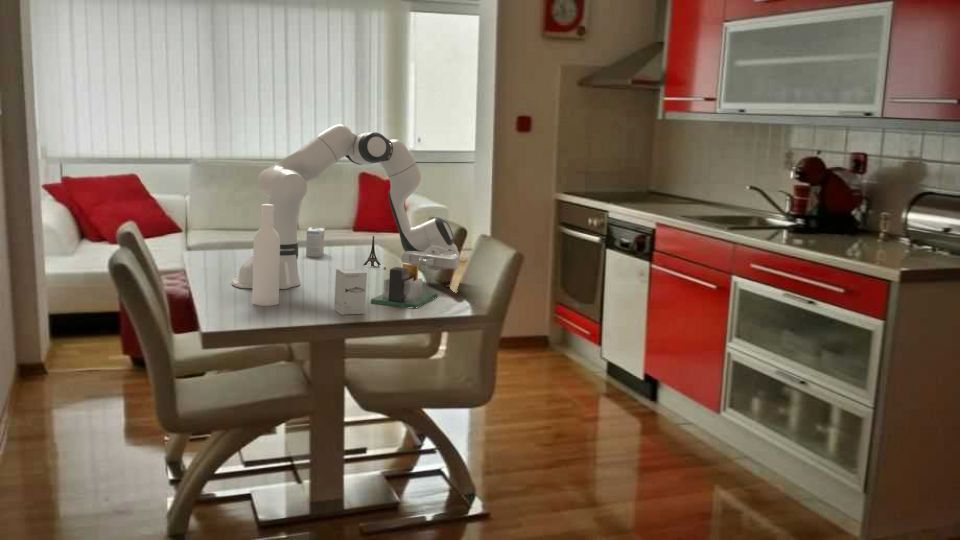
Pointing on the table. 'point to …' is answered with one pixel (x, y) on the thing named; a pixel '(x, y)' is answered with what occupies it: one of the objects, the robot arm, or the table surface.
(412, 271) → the yellow rectangular block
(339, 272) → the supplement box
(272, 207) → the bottle
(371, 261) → the eiffel tower figurine
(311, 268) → the table surface
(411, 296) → the heatsink board
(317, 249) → the light bulb box
